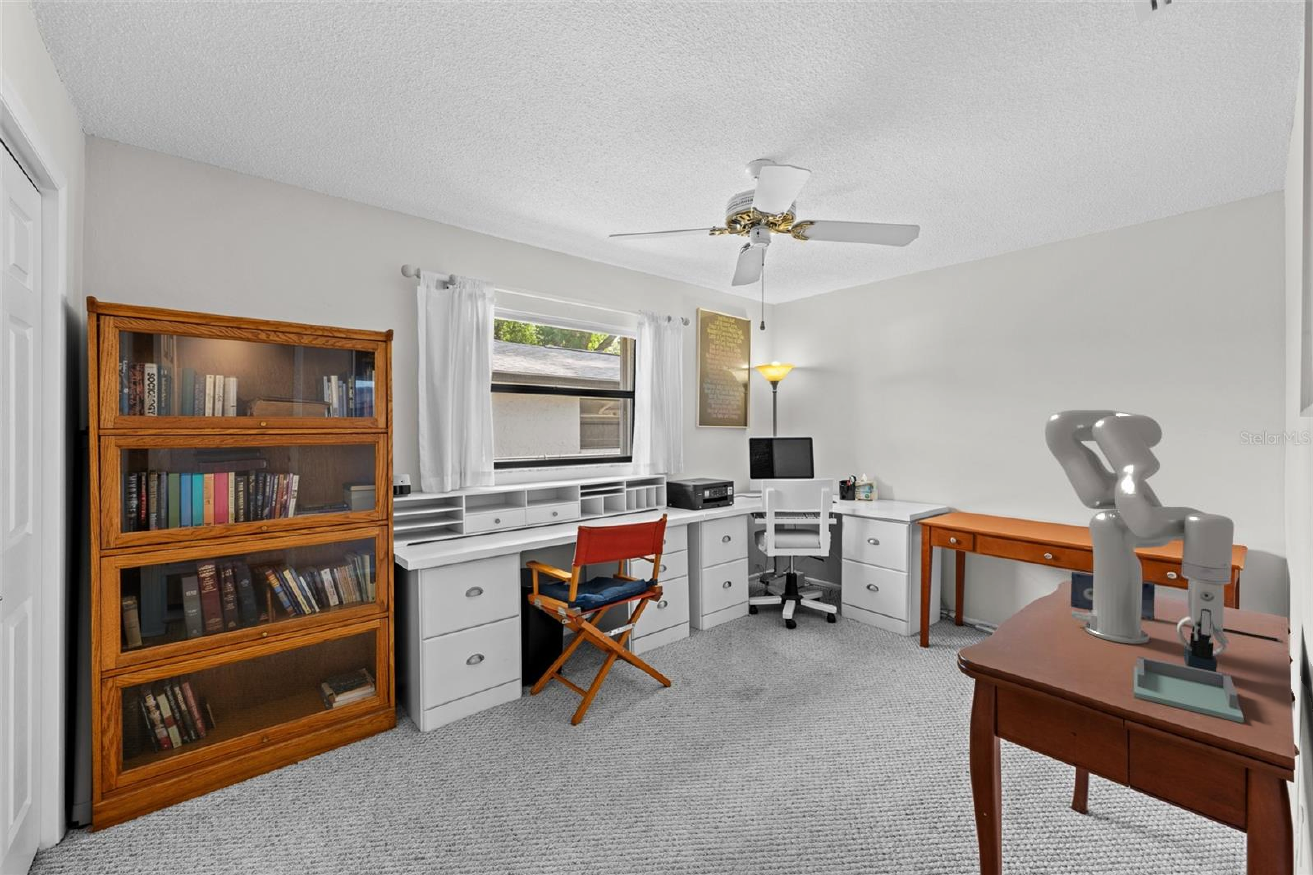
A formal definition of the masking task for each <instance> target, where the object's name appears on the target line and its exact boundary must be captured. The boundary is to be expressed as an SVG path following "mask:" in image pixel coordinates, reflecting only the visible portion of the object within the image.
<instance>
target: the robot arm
mask: <svg viewBox="0 0 1313 875" xmlns="http://www.w3.org/2000/svg"><path fill="white" fill-rule="evenodd" d="M1044 436H1045V441H1046V444H1047V447H1048V449H1049V451H1050V453H1051V454H1052V455H1053V457H1054V458H1055V459H1056V460H1057V462H1058V464H1060V466H1061V468H1062V469H1063V471H1064V473H1065V475H1066V477H1067V479H1068V481H1069V482H1070V484H1071V486H1072V488H1073V490H1074V492H1075V493H1076V495H1077V497H1078V498H1079V500H1080V502H1081V503H1082V504H1083V505H1084V506H1085V507H1086V508H1089V509H1090V510H1091V509H1092V510H1103V511H1100V512H1098V513H1095V514H1094V515H1093V516H1092V517H1091V518H1090V520H1089V524H1088V528H1089V530H1088V532H1089V535H1090V536H1089V537H1090V540H1091V544H1092V553H1093V556H1092V557H1093V564H1092V566H1093V572H1092V574H1093V610H1090V611H1091V612H1089V611H1087V612H1080V611H1075V610H1071V613H1070V614H1071V615H1070V617H1071V619H1074V620H1075V621H1078V622H1085V624H1084V629H1085V631H1086V632H1087V633H1089V634H1091V635H1092V636H1095V637H1098V638H1100V639H1103V640H1107V641H1112V642H1114V643H1115V642H1117V643H1122V644H1133V645H1141V644H1146V643H1147V644H1148V642H1149V641H1150V635H1149V634H1148V633H1147V632H1145V631H1144V630H1142V619H1141V613H1142V581H1143V566H1142V563H1141V561H1140V559H1139V557H1138V555H1137V554H1136V552H1135V549H1141V548H1142V549H1147V548H1148V549H1150V548H1161V547H1165V546H1167V545H1169V544H1170V543H1171V542H1173V541H1175V542H1176V541H1179V542H1180V541H1181V542H1182V541H1183V542H1182V555H1181V556H1182V558H1181V560H1182V562H1181V577H1183V578H1185V579H1186V580H1187V579H1188V584H1187V586H1188V587H1187V608H1188V611H1187V612H1188V616H1189V618H1190V624H1191V632H1190V641H1189V644H1190V646H1191V647H1192V652H1191V655H1192V656H1196V657H1201V658H1205V659H1210V660H1213V650H1214V643H1213V641H1214V640H1213V639H1214V638H1213V636H1214V635H1213V625H1214V627H1215V629H1216V630H1218V631H1219V632H1221V631H1222V632H1224V631H1223V628H1224V608H1225V607H1224V604H1225V590H1224V589H1225V587H1224V585H1229V584H1231V578H1232V562H1233V546H1234V545H1233V543H1234V529H1235V528H1234V526H1235V524H1234V521H1233V520H1232V519H1231V518H1230V517H1227V516H1224V515H1220V514H1213V513H1208V512H1203V511H1201V510H1198V509H1195V508H1194V507H1193V508H1192V507H1187V506H1163V504H1162V503H1161V501H1160V500H1159V498H1158V496H1157V495H1156V493H1155V491H1154V490H1153V489H1152V487H1151V486H1150V484H1149V483H1148V482H1147V481H1146V480H1148V479H1150V478H1151V477H1153V476H1154V475H1156V473H1157V472H1158V471H1160V468H1161V465H1160V464H1161V463H1160V461H1159V460H1158V459H1157V457H1156V456H1155V454H1154V453H1153V452H1152V450H1151V448H1154V447H1156V446H1157V445H1158V444H1159V443H1160V442H1161V439H1163V438H1162V437H1163V432H1162V428H1161V426H1160V424H1159V423H1158V422H1157V421H1156V420H1155V419H1154V418H1152V417H1150V416H1147V415H1143V414H1137V413H1130V412H1124V411H1117V410H1113V409H1112V410H1111V409H1110V410H1109V409H1073V410H1071V409H1070V410H1064V411H1059V412H1056V413H1054V414H1053V415H1052V416H1050V417H1049V418H1048V420H1047V422H1046V424H1045V429H1044ZM1082 442H1096V444H1097V445H1098V447H1099V449H1100V451H1101V452H1102V454H1103V455H1104V457H1105V459H1106V460H1107V462H1108V463H1109V465H1110V467H1111V468H1112V470H1113V471H1114V472H1112V471H1110V470H1108V469H1107V468H1106V466H1105V465H1104V464H1103V462H1102V459H1101V458H1100V456H1099V455H1098V454H1097V453H1096V452H1095V451H1094V450H1093V449H1091V448H1089V447H1088V446H1087V445H1085V444H1084V443H1082Z"/></svg>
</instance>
